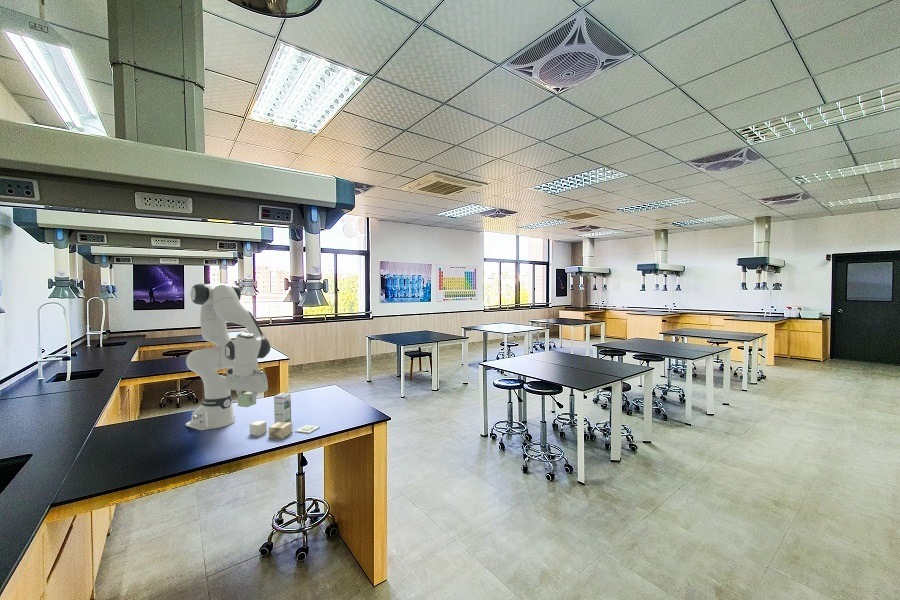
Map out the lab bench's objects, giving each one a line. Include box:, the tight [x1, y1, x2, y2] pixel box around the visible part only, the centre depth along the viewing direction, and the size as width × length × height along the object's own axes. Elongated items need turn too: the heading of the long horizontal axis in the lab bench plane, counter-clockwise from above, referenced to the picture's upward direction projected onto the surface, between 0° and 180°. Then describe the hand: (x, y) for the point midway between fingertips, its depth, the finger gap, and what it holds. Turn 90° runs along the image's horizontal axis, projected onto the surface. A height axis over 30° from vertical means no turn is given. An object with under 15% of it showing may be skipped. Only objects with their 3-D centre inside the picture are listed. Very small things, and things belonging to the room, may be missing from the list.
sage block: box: [237, 391, 257, 408], centre depth 160 cm, size 5×5×5 cm
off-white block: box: [249, 420, 268, 436], centre depth 171 cm, size 5×5×5 cm
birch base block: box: [268, 421, 293, 439], centre depth 169 cm, size 7×7×5 cm
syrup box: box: [273, 392, 292, 424], centre depth 185 cm, size 6×6×14 cm
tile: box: [294, 424, 321, 434], centre depth 175 cm, size 8×8×1 cm
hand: (247, 400), depth 160 cm, fingers closed on sage block, 5 cm apart
